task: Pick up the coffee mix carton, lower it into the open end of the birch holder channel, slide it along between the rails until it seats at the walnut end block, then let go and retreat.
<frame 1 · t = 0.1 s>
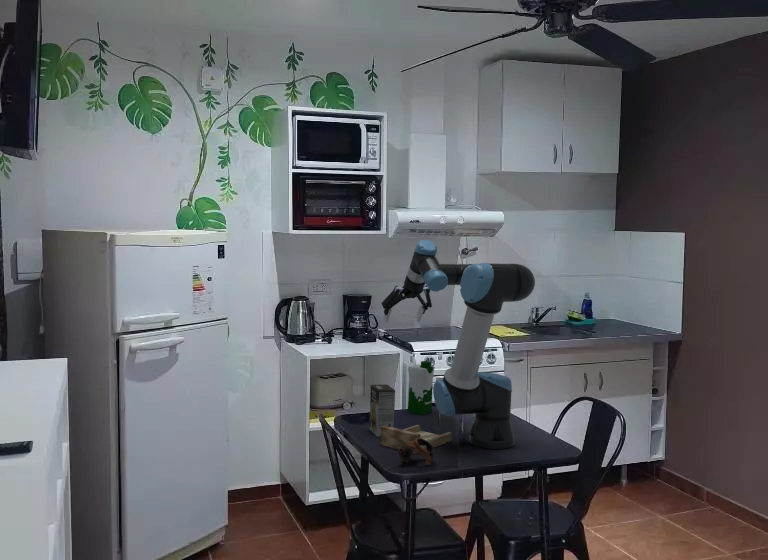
hand: (401, 319, 276), 36 cm above the table, tool tilted 35°, fingers open, 13 cm apart
holder: (414, 443, 236), on the table
coffee box: (381, 433, 247), on the table
milk carton: (419, 412, 278), on the table
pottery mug: (414, 463, 216), on the table
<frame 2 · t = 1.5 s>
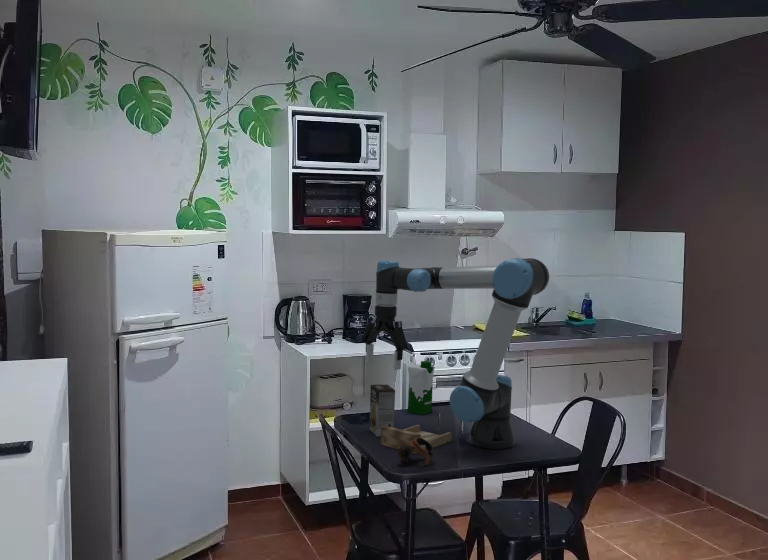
hand: (383, 365, 248), 23 cm above the table, tool pointing down, fingers open, 13 cm apart
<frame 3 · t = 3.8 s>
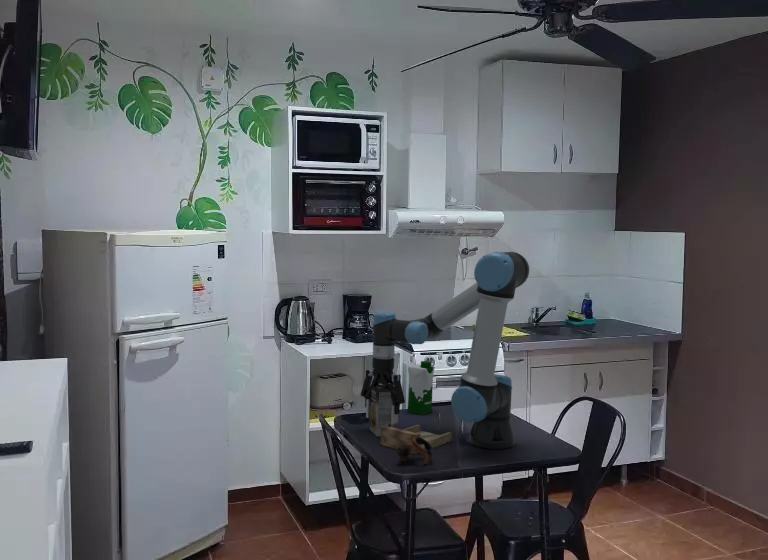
hand: (381, 420, 247), 4 cm above the table, tool pointing down, fingers closed on coffee box, 11 cm apart
coffee box: (381, 433, 247), on the table, touching gripper
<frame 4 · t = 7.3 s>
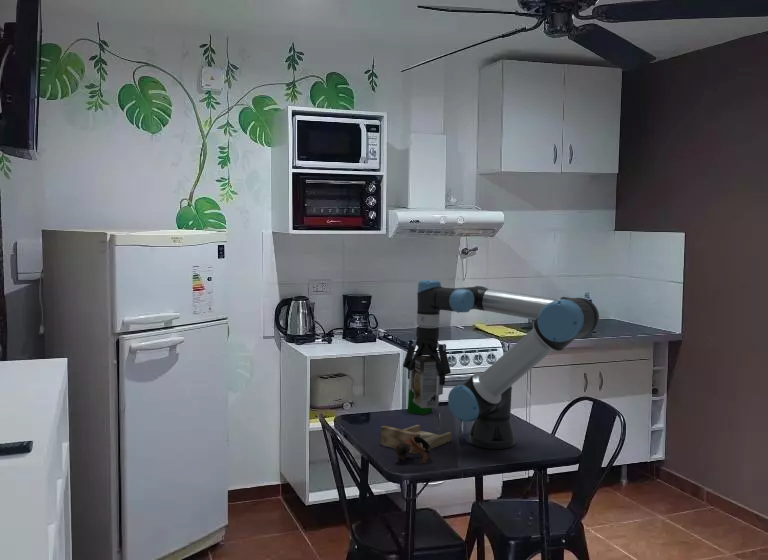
hand: (425, 391, 239), 16 cm above the table, tool pointing down, fingers closed on coffee box, 11 cm apart
coffee box: (425, 405, 239), point 12 cm above the table, touching gripper
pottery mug: (410, 461, 218), on the table
everything else where it was.
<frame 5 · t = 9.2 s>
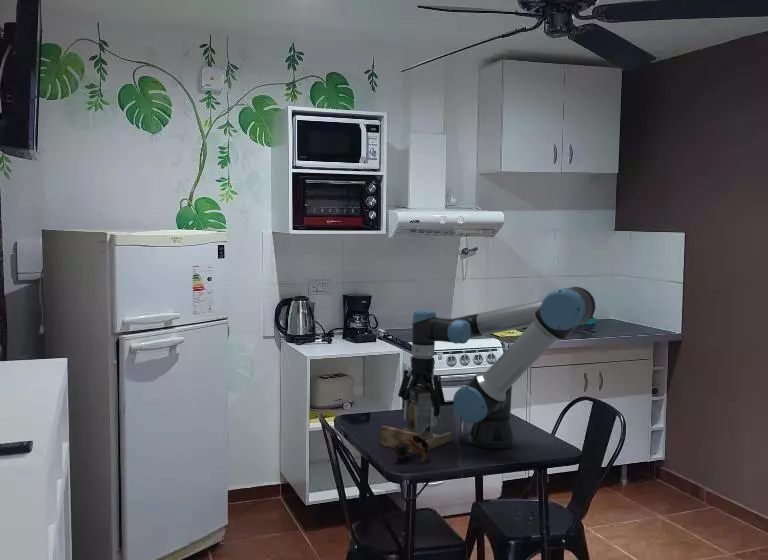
hand: (420, 422, 238), 6 cm above the table, tool pointing down, fingers closed on coffee box, 11 cm apart
coffee box: (419, 435, 238), point 2 cm above the table, touching gripper
when the fingers open (6 cm above the table, at t = 10.8 s): coffee box stays where it is, resting on holder.
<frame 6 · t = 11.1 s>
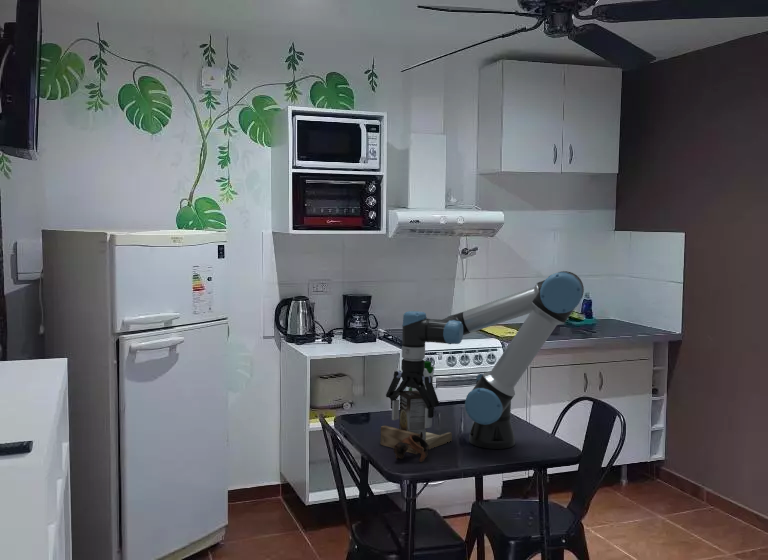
hand: (411, 423, 234), 7 cm above the table, tool pointing down, fingers open, 13 cm apart
coffee box: (412, 442, 234), point 1 cm above the table, touching holder
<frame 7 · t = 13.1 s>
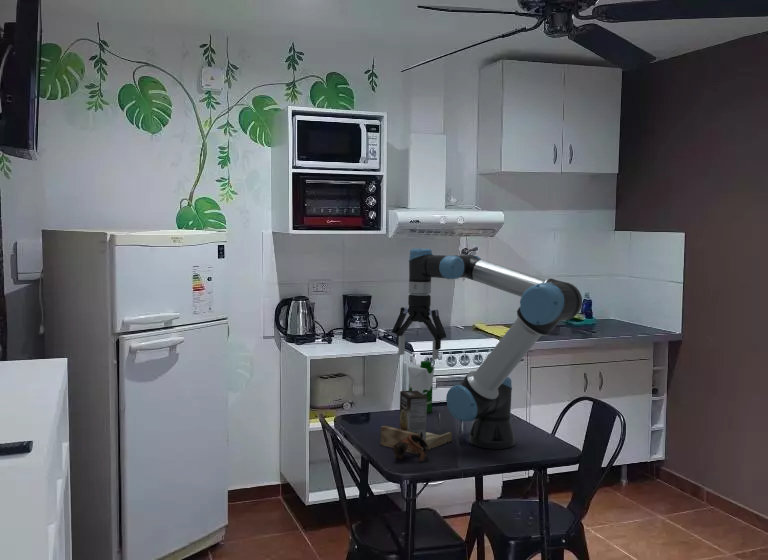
hand: (418, 356, 242), 28 cm above the table, tool pointing down, fingers open, 13 cm apart
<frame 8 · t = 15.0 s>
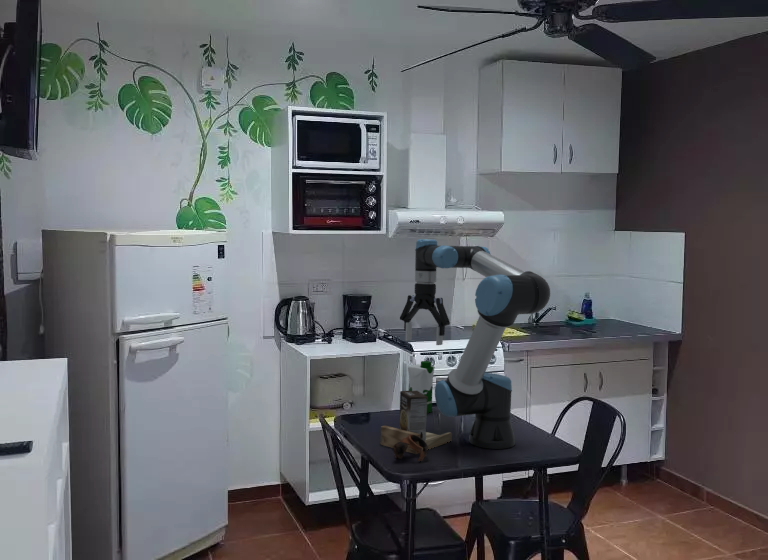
hand: (423, 342, 253), 31 cm above the table, tool pointing down, fingers open, 13 cm apart
at the end: coffee box inside the target area (1.1 cm from its centre), point 0.8 cm above the table; coffee box tilted 0°; the gripper is holding nothing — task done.
